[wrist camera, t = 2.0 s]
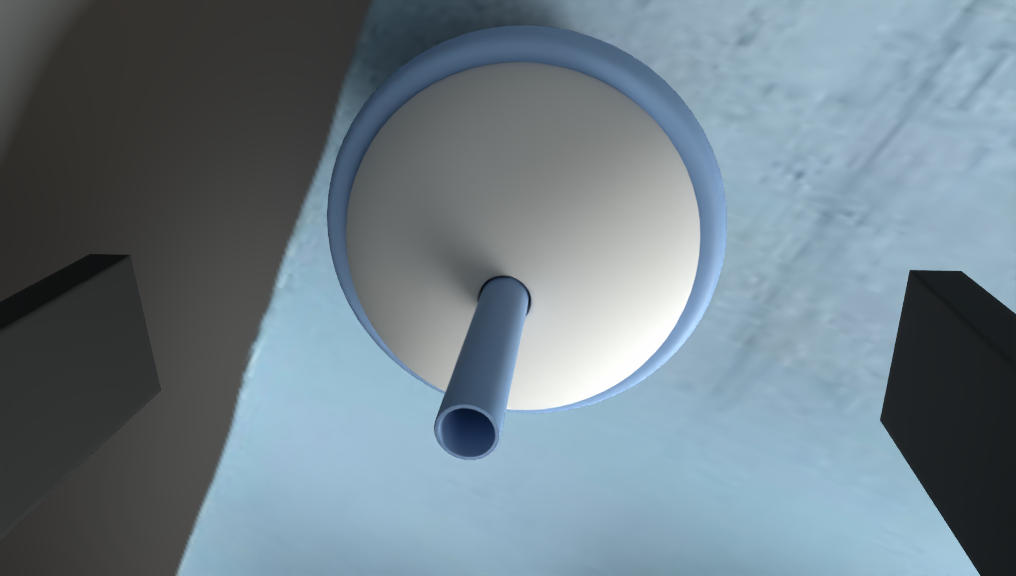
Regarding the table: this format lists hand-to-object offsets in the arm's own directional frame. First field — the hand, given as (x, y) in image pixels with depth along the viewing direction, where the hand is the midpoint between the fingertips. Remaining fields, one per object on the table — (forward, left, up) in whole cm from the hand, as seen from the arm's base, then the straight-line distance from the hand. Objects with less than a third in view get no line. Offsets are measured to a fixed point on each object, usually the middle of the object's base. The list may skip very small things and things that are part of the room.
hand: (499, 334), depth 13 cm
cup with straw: (0, 0, -15) cm, 15 cm away
